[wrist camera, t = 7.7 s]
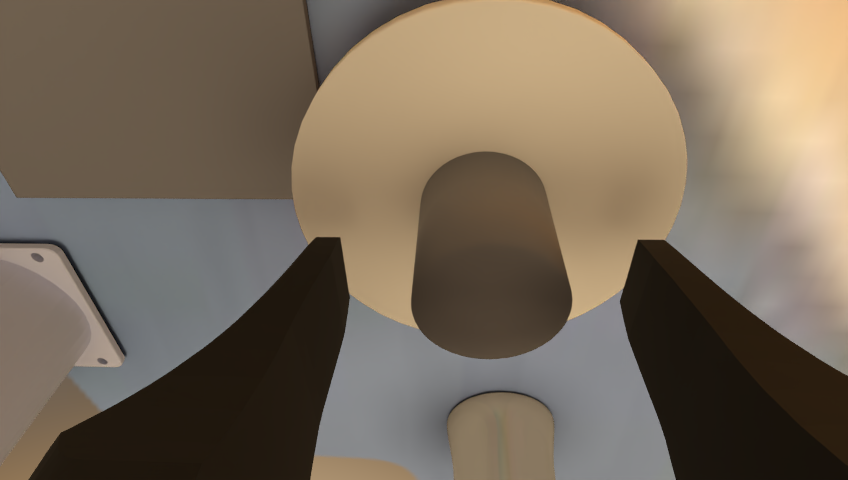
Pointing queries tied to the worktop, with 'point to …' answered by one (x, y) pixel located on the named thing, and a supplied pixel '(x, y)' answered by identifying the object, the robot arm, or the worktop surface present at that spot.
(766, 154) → the worktop surface
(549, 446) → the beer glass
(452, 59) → the lid
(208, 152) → the mat
